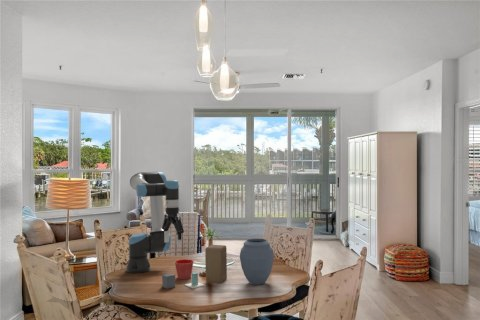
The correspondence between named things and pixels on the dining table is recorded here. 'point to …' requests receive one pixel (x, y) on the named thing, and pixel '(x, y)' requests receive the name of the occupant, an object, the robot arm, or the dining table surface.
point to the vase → (256, 260)
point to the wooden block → (216, 263)
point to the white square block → (194, 281)
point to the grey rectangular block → (168, 280)
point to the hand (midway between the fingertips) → (172, 243)
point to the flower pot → (184, 268)
